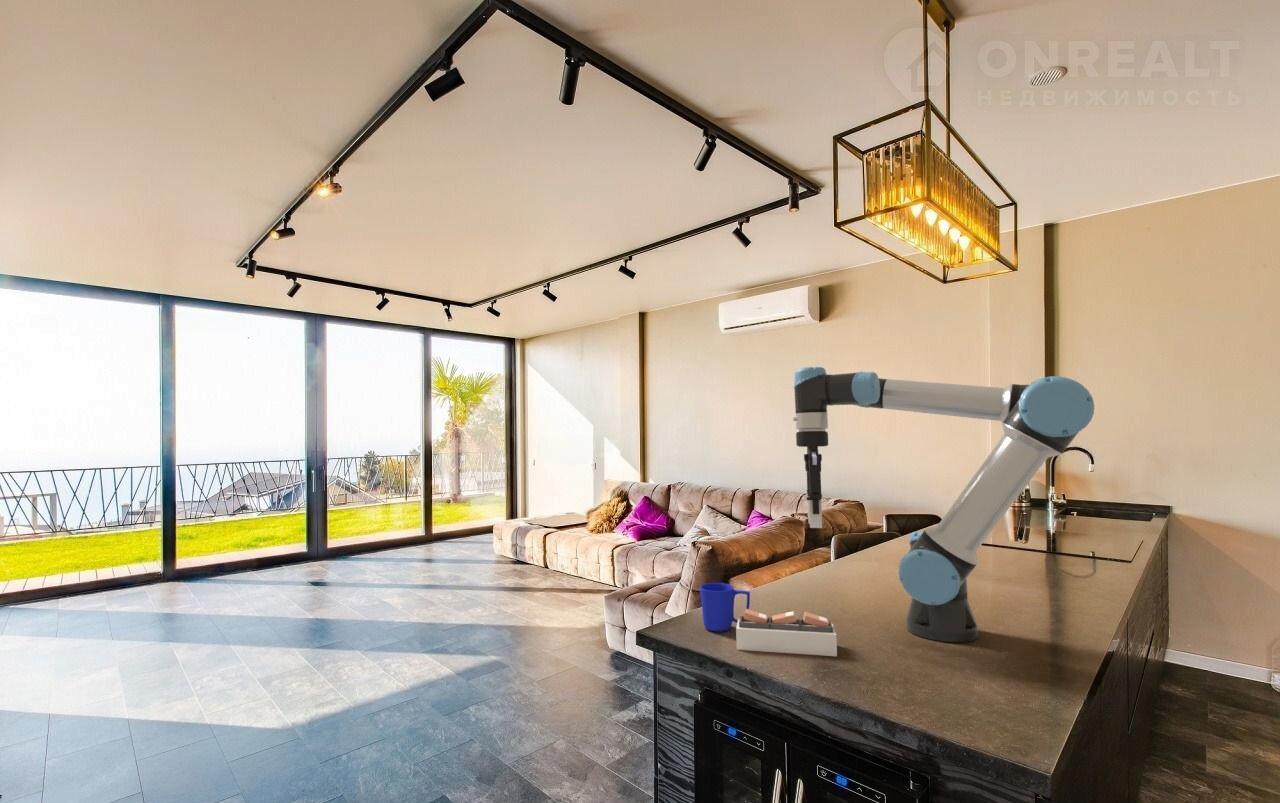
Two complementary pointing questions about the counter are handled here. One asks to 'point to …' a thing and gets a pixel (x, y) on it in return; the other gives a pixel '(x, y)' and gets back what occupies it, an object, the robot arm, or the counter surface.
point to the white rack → (786, 637)
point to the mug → (719, 605)
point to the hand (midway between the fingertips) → (815, 525)
